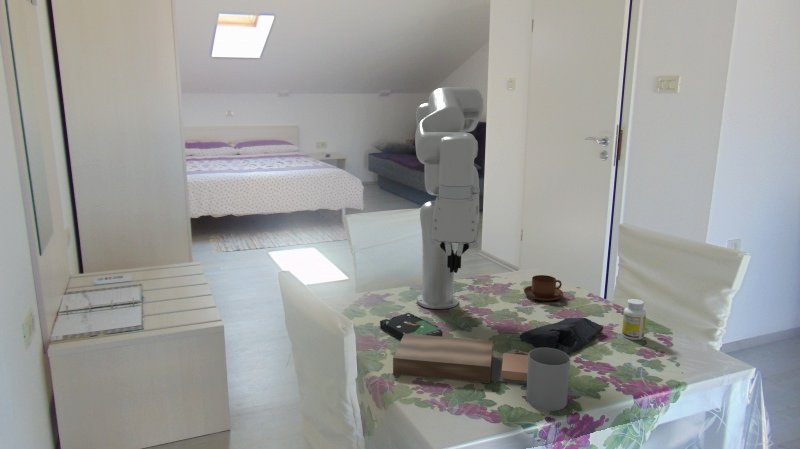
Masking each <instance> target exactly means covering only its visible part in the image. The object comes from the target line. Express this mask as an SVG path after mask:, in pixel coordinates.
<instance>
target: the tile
mask: <svg viewBox="0 0 800 449" xmlns="http://www.w3.org/2000/svg"><path fill="white" fill-rule="evenodd" d="M528 355H529V354H528ZM528 355H527V354H519V353H518V354H517V353H507V352H506V353H505V352H504V353H502V359H503V363H502V379H511V380H521V381H527V373H528Z"/></svg>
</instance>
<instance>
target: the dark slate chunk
mask: <svg viewBox="0 0 800 449" xmlns="http://www.w3.org/2000/svg"><path fill="white" fill-rule="evenodd" d="M603 330H604V327H603V326H602V325H601V324H599V323H597V322H595V321H592V320H591V319H589V318H587V317H574V318H573V317H565V318H564V319H561V320H560V321H558V322H554V323H548V324H545V325H540V326H538V327H535V328H532V329H529V330H526V331H524V332H522V333H521V334H520V335H519V337H520V338H521V339H520V341H521V342H525V343H527V344H529V345H531V346H532V347H534V348H535V349H537V348H553V349H558V350H560V351H563V352H565V353H566V354H567V355H569V356H570V353H573V352H575V351H578V350H579V349H580V348H582V347H584V346H585V345H586V344H587V343H588V342H590V341H591V340H592V339H594V338H595V337H596V336H597V335H598V334H601V333H602V332H603Z"/></svg>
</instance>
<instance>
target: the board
mask: <svg viewBox="0 0 800 449" xmlns="http://www.w3.org/2000/svg"><path fill="white" fill-rule="evenodd" d="M493 349H494V341H493V340H491V339H490V340H488V339H477V338H464V337H456V336H455V337H453V336H452V337H451V336H443V335H442V336H430V335H417V334H405V333H404V335H403V337H402V339H401V340H400V342H399V344H398V346H397V348H396V351H395V353H394V355H393V358H392V374H393V375H397V376H398V375H399V376H410V377H419V378H420V377H421V378H429V379H431V378H433V379H442V380H452V381H453V380H454V381H463V382H474V383H484V384H486V383H487V384H491V374H492V363H493V351H494V350H493Z"/></svg>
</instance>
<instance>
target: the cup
mask: <svg viewBox="0 0 800 449" xmlns="http://www.w3.org/2000/svg"><path fill="white" fill-rule="evenodd" d="M570 368H571V358H570V354H569V355H567V354H566V353H565V352H563V351H560V350H558V349H553V348H533V349H531V350H529V352H528V373H527V384H526V398H525V399H526V402H527V404H529V405H530V406H531V407H533V408H536V409H537V410H541V411H546V412H550V411H551V412H552V411H553V412H556V411H560V410H563V409H564V408H565V407H566V406H567V405H568V394H569V382H570V381H569V380H570V379H569V378H570Z"/></svg>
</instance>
